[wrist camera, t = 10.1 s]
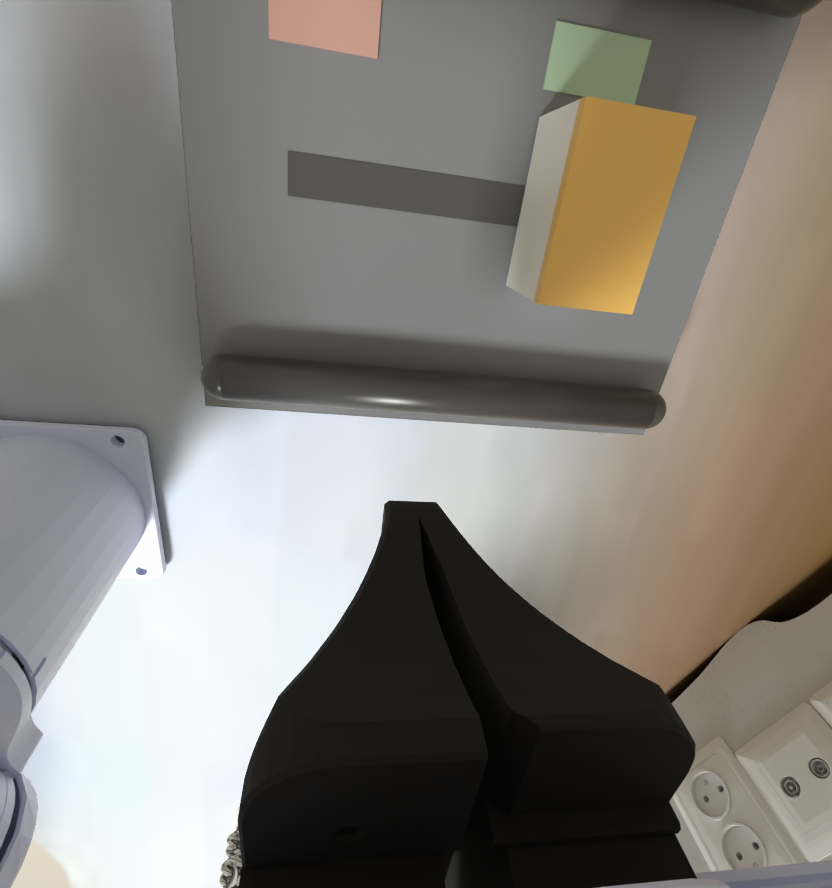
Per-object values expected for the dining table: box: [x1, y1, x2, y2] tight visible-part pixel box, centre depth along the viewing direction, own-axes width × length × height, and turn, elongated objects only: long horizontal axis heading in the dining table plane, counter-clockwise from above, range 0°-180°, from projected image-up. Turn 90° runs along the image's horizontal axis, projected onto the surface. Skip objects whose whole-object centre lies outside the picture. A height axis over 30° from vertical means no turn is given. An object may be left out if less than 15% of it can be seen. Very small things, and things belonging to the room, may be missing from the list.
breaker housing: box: [171, 0, 821, 435], centre depth 16 cm, size 18×16×4 cm
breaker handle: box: [506, 96, 697, 315], centre depth 14 cm, size 3×5×3 cm, turn 173°
